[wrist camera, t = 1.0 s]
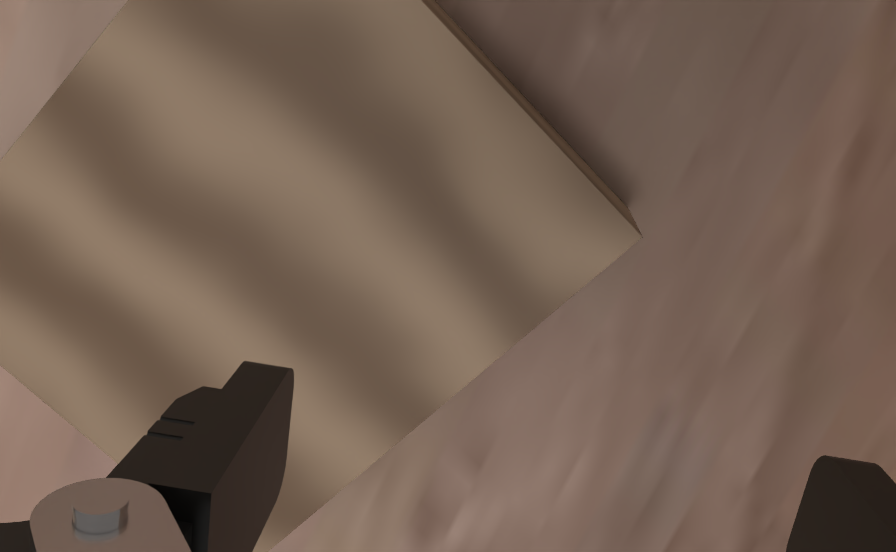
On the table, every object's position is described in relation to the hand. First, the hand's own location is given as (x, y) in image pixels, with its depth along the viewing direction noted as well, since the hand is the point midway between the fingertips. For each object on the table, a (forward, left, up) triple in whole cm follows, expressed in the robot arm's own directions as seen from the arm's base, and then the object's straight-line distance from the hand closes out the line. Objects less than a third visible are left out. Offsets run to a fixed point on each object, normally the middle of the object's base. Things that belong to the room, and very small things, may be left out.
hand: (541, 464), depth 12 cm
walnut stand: (+9, -5, -21) cm, 23 cm away
